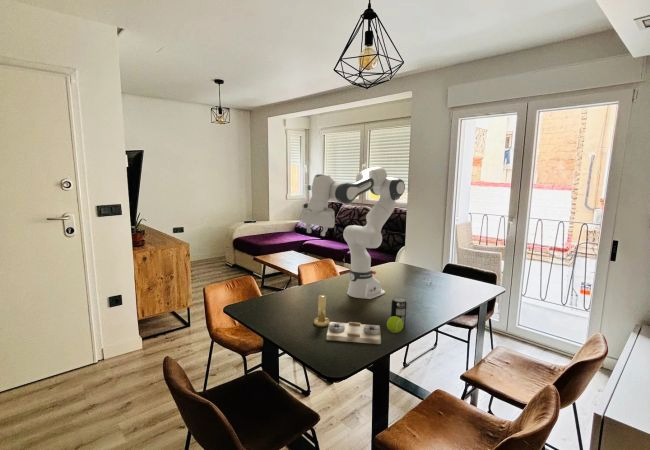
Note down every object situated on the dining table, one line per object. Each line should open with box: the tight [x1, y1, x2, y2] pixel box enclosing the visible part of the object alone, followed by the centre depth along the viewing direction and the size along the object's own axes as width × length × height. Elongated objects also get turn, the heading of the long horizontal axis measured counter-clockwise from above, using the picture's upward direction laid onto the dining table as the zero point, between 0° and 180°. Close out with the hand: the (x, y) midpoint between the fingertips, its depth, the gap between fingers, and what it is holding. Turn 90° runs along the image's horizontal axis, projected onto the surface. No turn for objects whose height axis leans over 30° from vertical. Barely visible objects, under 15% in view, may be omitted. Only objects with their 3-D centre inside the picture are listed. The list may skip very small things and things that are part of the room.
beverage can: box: [390, 296, 407, 327], centre depth 156 cm, size 7×7×12 cm
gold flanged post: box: [313, 294, 330, 328], centre depth 154 cm, size 7×7×13 cm
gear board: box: [326, 321, 382, 345], centre depth 145 cm, size 22×13×4 cm, turn 83°
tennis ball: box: [386, 316, 404, 334], centre depth 148 cm, size 7×7×7 cm
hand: (315, 234), depth 169 cm, fingers open, 8 cm apart
